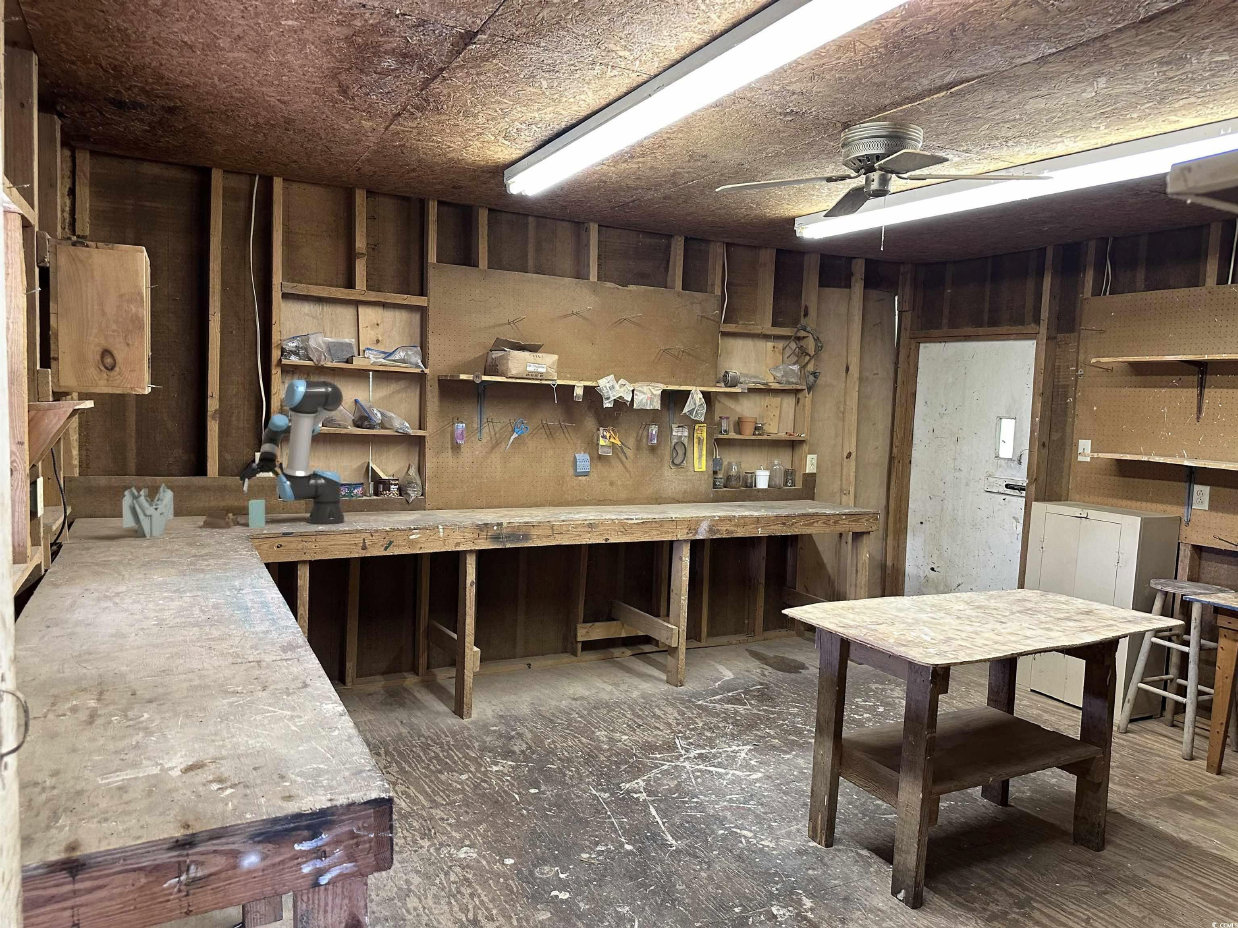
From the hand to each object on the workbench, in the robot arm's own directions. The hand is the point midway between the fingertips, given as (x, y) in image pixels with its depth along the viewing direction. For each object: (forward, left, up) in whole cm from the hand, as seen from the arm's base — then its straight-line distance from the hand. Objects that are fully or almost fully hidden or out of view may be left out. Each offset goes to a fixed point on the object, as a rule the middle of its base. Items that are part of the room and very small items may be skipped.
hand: (261, 491), depth 362 cm
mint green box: (-4, +9, -14) cm, 17 cm away
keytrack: (+10, +14, -14) cm, 22 cm away
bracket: (+19, +45, -14) cm, 51 cm away
